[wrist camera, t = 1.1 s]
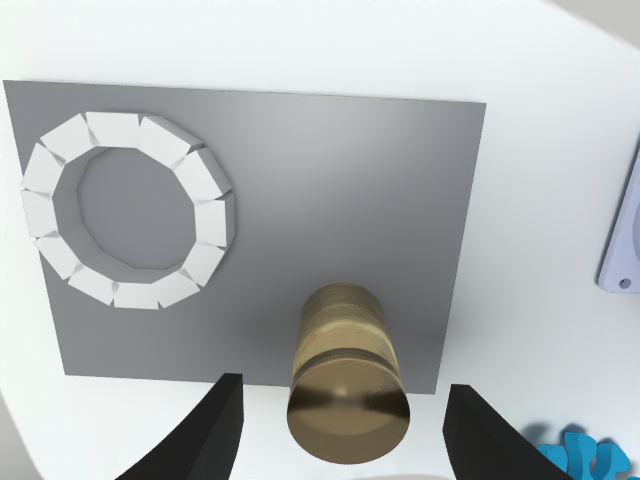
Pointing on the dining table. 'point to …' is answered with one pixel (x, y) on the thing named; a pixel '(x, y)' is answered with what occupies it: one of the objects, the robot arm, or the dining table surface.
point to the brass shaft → (346, 379)
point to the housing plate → (238, 222)
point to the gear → (587, 458)
